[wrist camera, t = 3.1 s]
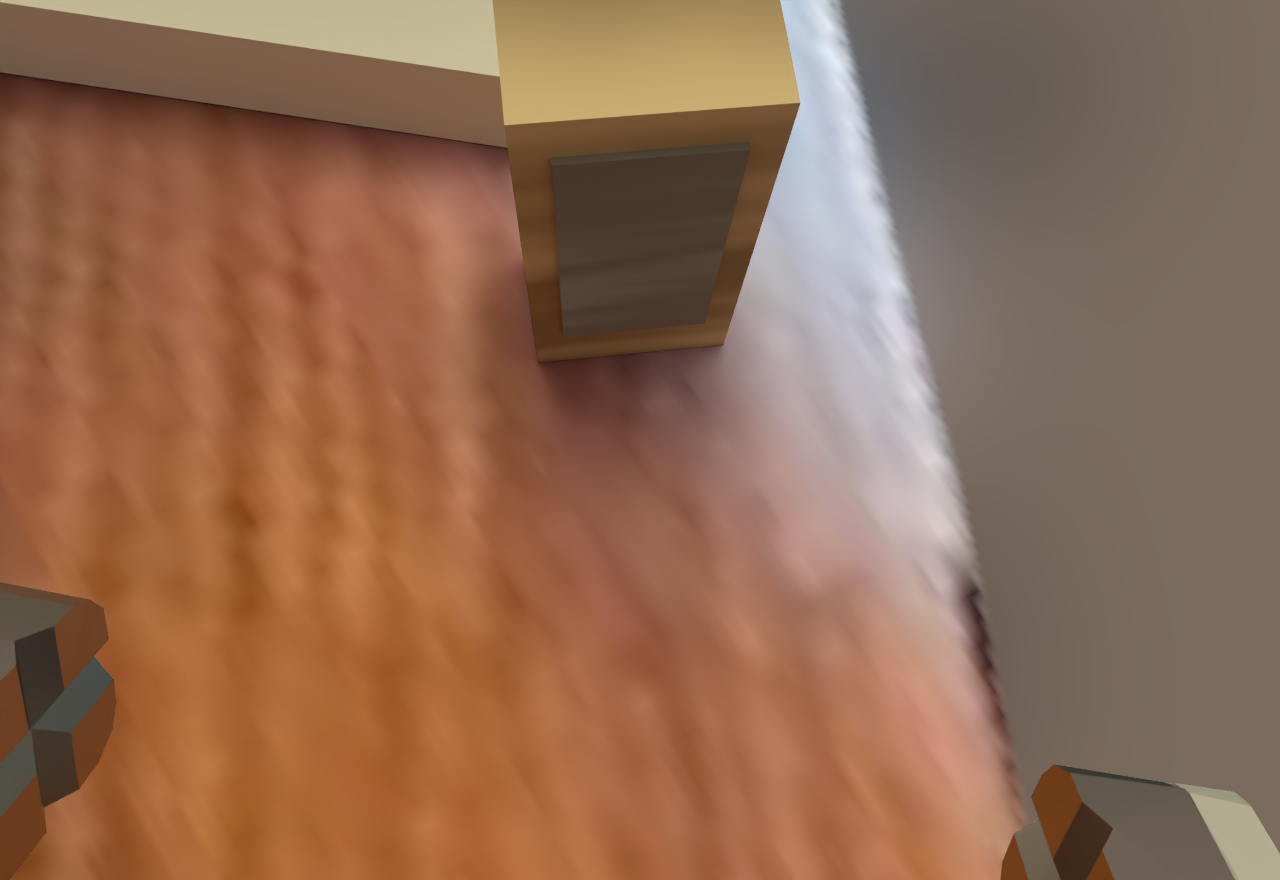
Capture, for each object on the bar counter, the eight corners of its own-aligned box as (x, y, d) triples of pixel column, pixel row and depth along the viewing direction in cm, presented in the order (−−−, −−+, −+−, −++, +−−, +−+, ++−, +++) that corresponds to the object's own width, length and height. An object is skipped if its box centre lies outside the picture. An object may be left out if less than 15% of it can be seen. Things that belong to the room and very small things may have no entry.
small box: (723, 350, 26) (801, 110, 16) (538, 367, 25) (505, 133, 16) (706, 241, 27) (771, -46, 17) (527, 257, 26) (489, -28, 17)
